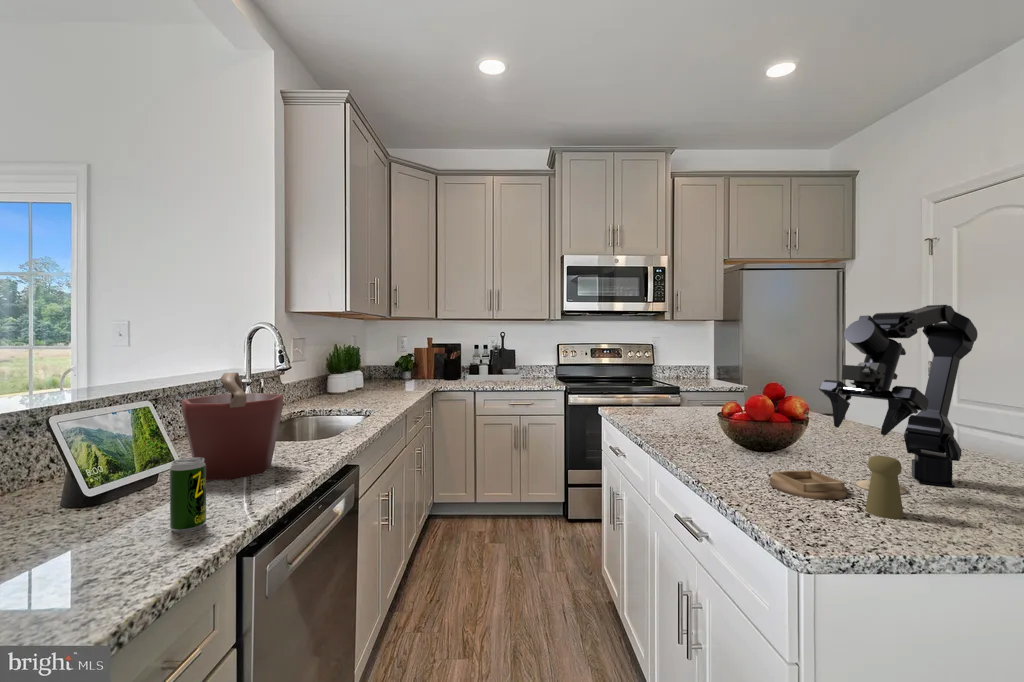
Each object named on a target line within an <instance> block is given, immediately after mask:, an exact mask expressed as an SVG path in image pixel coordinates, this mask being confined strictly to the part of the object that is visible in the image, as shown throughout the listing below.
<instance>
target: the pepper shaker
mask: <svg viewBox="0 0 1024 682" xmlns="http://www.w3.org/2000/svg"><path fill="white" fill-rule="evenodd" d="M867 465H868V470H869V471H870V472H871V474H870V475H871V476H870V479H869V480H870V485H869V490H867V491H868V492H867V498H866V503H865V512H866V513H868V514H870V515H872V516H875V517H879V518H883V519H884V518H885V519H890V520H891V519H892V520H900V519H904V518H905V516H904V515H905V514H904V508H903V502H902V494H900V487H899V485H900V483H899V481H900V480H899V476H900V475H901V473H902V470H903V469H902V468H903V467H902V464H901V462H900V460H898V459H897V458H894V457H891V456H886V455H873V456H871V457H870V458H869V460H868V462H867Z"/></svg>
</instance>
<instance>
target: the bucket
mask: <svg viewBox="0 0 1024 682" xmlns="http://www.w3.org/2000/svg"><path fill="white" fill-rule="evenodd" d="M220 382H221V384H222V386H223V387H224V388H225V389H226V390H227V391H228V392H229V393H226V394H224V393H223V394H212V395H206V396H198V397H190V398H184V399H181V412H182V417H183V421H184V427H185V430H186V431H185V432H186V435H187V440H188V444H189V448H190V452H191V456H192V457H191V458H193V457H200V458H204V459H205V461H204V462H205V463H206V481H233V480H239V479H243V478H248V477H254V476H256V475H257V476H258V475H262V474H264V473H265V472H266V471H267V470H268V469H269V468H270V467H271V466H272V463H273V458H274V453H275V447H276V444H277V443H276V442H277V439H278V433H279V429H280V422H281V417H282V415H283V414H282V412H283V409H284V394H278V393H276V394H275V393H264V392H248V393H246V392H245V391H244V390H243V383H242V380H241V377H240V374H239V372H224V373H223V374H222V375H221V377H220Z"/></svg>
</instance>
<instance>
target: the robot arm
mask: <svg viewBox="0 0 1024 682" xmlns="http://www.w3.org/2000/svg"><path fill="white" fill-rule="evenodd" d="M921 328H923V329H922V332H923V334H924V335H925V337H926V338H927V345H928V347H929V349H930V350H931V352H932V354H933V355H932V356H933V357H932V361H931V366H930V370H929V373H928V378H927V383H926V388H925V393H922V391H920V390H919V389H918V388H917V387H914V386H903V385H895V386H893V387H892V389H891V390H890V388H891V386H892V383H893V380H897V379H898V376H899V375H898V374H897V373H896V370H897V367H898V364H899V363H898V362H899V360H900V357H901V356H906V354H907V353H906V350H905V348H904V347H903V344H902V342H898V341H897V340H895V339H910V338H912V337H913V336H915V335H916V334H917V333H918V329H921ZM843 335H844V339H845V340H846V341H847V342H848V343H849V344H851V345H852V346H853V347H854V348H856V350H857V351H859V352H860V353H861V354H863V355H865V357H864V360H863V362H861V361H859V362H858V364H857V365H850V364H847V365H846V364H843V365H842V369H841V380H842V381H849V383H850V384H851V385H852V386H855V387H851V386H848V385H847V384H846V383H844V382H842V381H841V380H832V379H825V380H823V381H822V382H821V383H820V385H819V388H818V390H819V391H820V392H821V393H823V395H824V396H826V397H827V398H828V399H829V400H830V404H831V408H832V416H833V425H834V427H835V428H836V429H839V428H840V426H841V425H842V424H843V423H842V422H843V421H844V419H845V416H846V415H847V412H848V410H849V408H850V405H851V402H849V401H850V400H851V399H852V397H858V398H866V399H875V400H884V401H887V405H888V407H887V412H886V415H885V417H884V420H883V422H882V426H881V429H880V434H881V435H882V436H884V437H885V436H887V435H888V434H889V433H890V432H891V431H892V430H894V429H895V427H897V426H898V425H899V424H900V423H901V422H902V421H904V420H905V419H907V426H906V428H905V431H904V433H903V434H904V435H903V438H904V442H905V443H904V444H905V447H906V449H905V450H906V453H907V454H913V455H914V458H913V459H911V477H912V478H913V480H915V481H917V483H919V484H923V485H933V486H940V487H941V486H942V487H950V488H955V487H956V484H954V482H953V462H959V461H960V459H961V457H962V452H963V451H962V448H961V447H960V445H959V443H958V441H957V440H956V438H955V437H954V435H955V430H954V428H953V426H952V423H951V422H950V420H949V418H948V417H949V411H950V407H951V403H952V397H953V393H954V390H955V389H954V388H955V384H956V379H957V375H958V371H959V366H960V362H961V360H962V359H963V358H964V357H966V356H967V355H969V353H970V352H971V351H972V350H973V345H974V343H975V342H976V341H977V339H978V330H977V327H976V326H975V325H974V323H973V322H972V321H971V319H970V318H969V317H967V316H965V315H963V314H962V313H959V312H957V311H955V309H954V308H953V306H951V305H948V304H934V305H932V304H930V305H925V306H922V307H921V308H917V309H912V310H909V311H901V312H900V311H898V312H878V313H877V312H876V313H874V314H873V315H872V316H871V315H859V317H858V319H857V320H855V321H853V322H851V323H850V324H849V325H848V326H847V327H846V328H845V329H844V332H843ZM915 414H916V415H915Z"/></svg>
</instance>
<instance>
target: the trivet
mask: <svg viewBox="0 0 1024 682" xmlns="http://www.w3.org/2000/svg"><path fill="white" fill-rule="evenodd" d="M771 474H772V476H771V477H769V485H770V487H771V488H773V489H774V488H775V489H774V490H776V489H777V490H776V491H779V492H781V491H782V493H785V494H787V493H788V495H792V496H795V497H796V495H797V497H800V496H802V497H801V498H806V497H807V499H813V498H814V499H815V500H816V499H817V500H827V499H831V500H840V498H841V499H844V498H846V497H847V496H848V488H847V487H846V485H845V482H844V481H841V480H839V479H836V478H834V477H831V476H827V475H824V474H823V473H819V472H817V471H814V470H811V469H806V470H805V469H804V470H781V471H772V473H771Z"/></svg>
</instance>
